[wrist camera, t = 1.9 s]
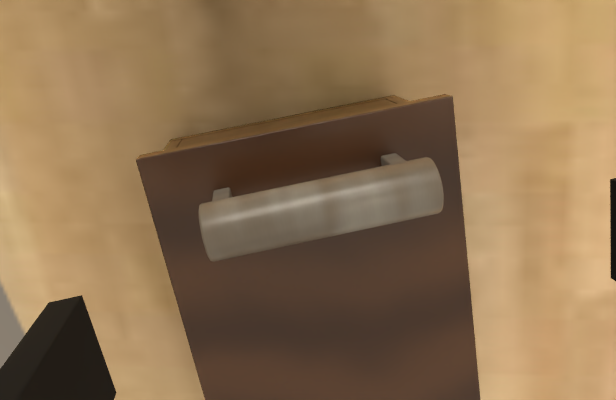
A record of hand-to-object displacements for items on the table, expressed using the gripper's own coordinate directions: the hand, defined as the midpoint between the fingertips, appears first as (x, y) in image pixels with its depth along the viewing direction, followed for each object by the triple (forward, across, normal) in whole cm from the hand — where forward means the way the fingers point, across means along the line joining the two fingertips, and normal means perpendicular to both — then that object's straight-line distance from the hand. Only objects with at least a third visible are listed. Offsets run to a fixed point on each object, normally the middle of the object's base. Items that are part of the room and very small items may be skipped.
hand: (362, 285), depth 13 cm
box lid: (+10, 0, -7) cm, 12 cm away
